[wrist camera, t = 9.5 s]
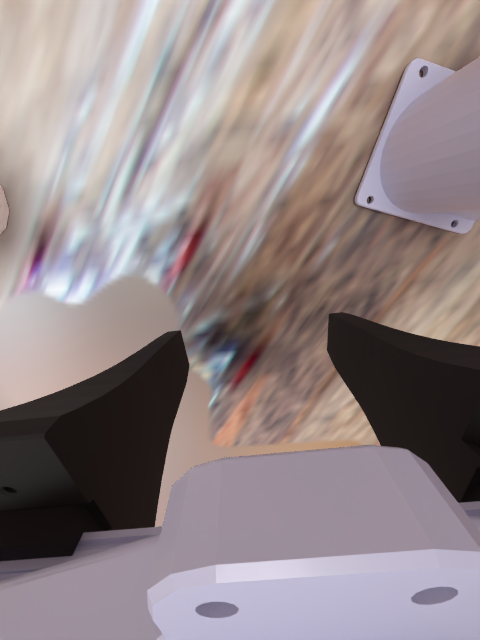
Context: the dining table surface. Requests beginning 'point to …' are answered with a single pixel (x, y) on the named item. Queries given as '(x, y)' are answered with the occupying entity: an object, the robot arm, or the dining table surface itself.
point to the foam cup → (3, 211)
